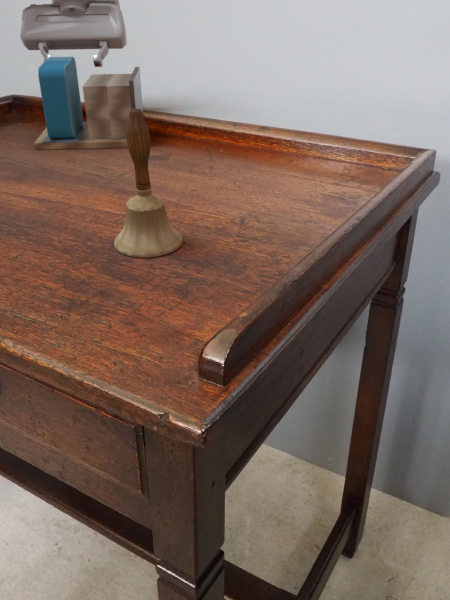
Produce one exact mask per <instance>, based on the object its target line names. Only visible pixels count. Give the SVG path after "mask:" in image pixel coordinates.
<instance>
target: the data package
mask: <svg viewBox="0 0 450 600" xmlns="http://www.w3.org/2000/svg"><path fill="white" fill-rule="evenodd" d="M77 69H78V68H77V63H76V59H75V57H74V56H52V57H49V58H48V59H47V60H46V61H45V62H44V61H43V63H41V65H40V66H39V67H38V71H37V74H38V75H37V76H38V83H39V88H40V95H41V102H42V107H43V113H44V114H43V115H44V120H45V126H46V127H47V133H48V136H49V138H51V139H52V138H75V137H76V135H77V133H78V131H79V129H80V127H81V125H82V122H84V120H83V119H84V118H83V117H84V116H83V108H82V101H81V92H80V85H79V78H78V70H77ZM46 127H45V128H46Z"/></svg>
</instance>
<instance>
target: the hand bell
mask: <svg viewBox="0 0 450 600" xmlns="http://www.w3.org/2000/svg"><path fill="white" fill-rule="evenodd" d="M126 137H127V145H128V148H127V149H128V153H129V156H130V158H131V161H132V163H133V167H134V177H135V179H134V180H135V188H136V195H134V196H131V197H130V198H129V199H128V200H127V201H126V204H125V208H126V209H125V218H124V224H123V227H122V229H121V231H120V232H119V233H118V234H117V235H116V237H115V239H114V241H113V246H114V249H115V250H116V251H117V252H118V253H120V254H122V255H123V256H127V257H130V258H138V259H150V258H157V257H162V256H166V255H169V254H172V253H173V252H175V251H177V250H178V249H179V248H180V247H181V246H182V244H183V242H184V241H183V239H184V238H183V236H182V235H181V233H180V232H179V230H178V229H176V228H174V226H173V225H172V224H171V221H170V219H169V216H168V213H167V209H166V205H165V204H166V203H165V201H164V199H163V198H162V197H161V196H159V195H156V194H153V191H152V184H151V179H150V171H149V161H150V154H151V135H150V130H149V126H148V123H147V121H146V119H145V117H144V113H143V114H142V111H141V109H138V108H135V109H130V111H129V119H128V124H127V130H126Z"/></svg>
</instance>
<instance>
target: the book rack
mask: <svg viewBox="0 0 450 600" xmlns="http://www.w3.org/2000/svg"><path fill="white" fill-rule="evenodd" d="M141 81H142V79H141V68H140V66H135V67H134V68H133V71H132V73H95V74H90V76H89V77H88V79H86V82H85V83H84V84H83V85H82V92H83V100H84V109H85V117H86V121H85V120H84V121H82V125H81V127H80V129H79V131H78V133H77V135H76V137H75V138H52V139H51V138H49V136H48V133H47V127H45V128H44V129H43V131H42V132H41V134H40V135H39V136H38V137H37V138H36V140H35V141H34V143H33V146H34V150H36V151H37V150H38V151H39V150H41V151H42V150H77V149H78V150H80V149H81V150H85V149H86V150H87V149H88V150H91V149H128V145H127V137H126V130H127V124H128V119H129V111H130V109H135V108H138V109H141V111H142V113H143V114H144V106H143V93H142V82H141Z"/></svg>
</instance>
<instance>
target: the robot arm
mask: <svg viewBox="0 0 450 600" xmlns="http://www.w3.org/2000/svg"><path fill="white" fill-rule="evenodd" d="M51 2H52V3H44V4H35V3H33V4H32V3H31V4H29V6H27V7H25V8H23V10H22V12H21V26H20V34H19V36H20V37H19V38H20V41H21V43H22V44H23V46H24V48H26V49H27V50H28V51H40V53H41V55H42V57H43V63H44V62H45V61H46V60H47V59H48V58H49V57H53V55H52V54H49V52H50V51H61V50H62V51H63V50H66V51H67V50H99V51H98V53H94V54H93V66H94V67H95V68H103V66H104V65H103V64H104V62H103V61H104V59H105V58H106V56H108V54H109V53H110V51H109V50H119V49H120V50H121V49H124V48H125V47H126V46H127V43H128V38H127V29H126V26H125V21H124V16H123V13H122V9H121V4H120V0H52V1H51Z"/></svg>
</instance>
